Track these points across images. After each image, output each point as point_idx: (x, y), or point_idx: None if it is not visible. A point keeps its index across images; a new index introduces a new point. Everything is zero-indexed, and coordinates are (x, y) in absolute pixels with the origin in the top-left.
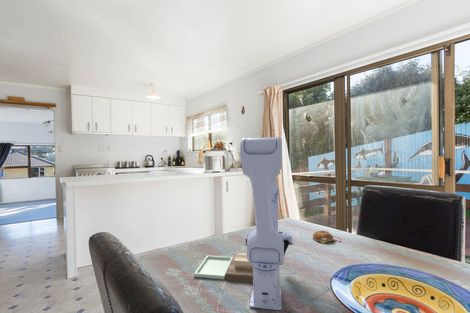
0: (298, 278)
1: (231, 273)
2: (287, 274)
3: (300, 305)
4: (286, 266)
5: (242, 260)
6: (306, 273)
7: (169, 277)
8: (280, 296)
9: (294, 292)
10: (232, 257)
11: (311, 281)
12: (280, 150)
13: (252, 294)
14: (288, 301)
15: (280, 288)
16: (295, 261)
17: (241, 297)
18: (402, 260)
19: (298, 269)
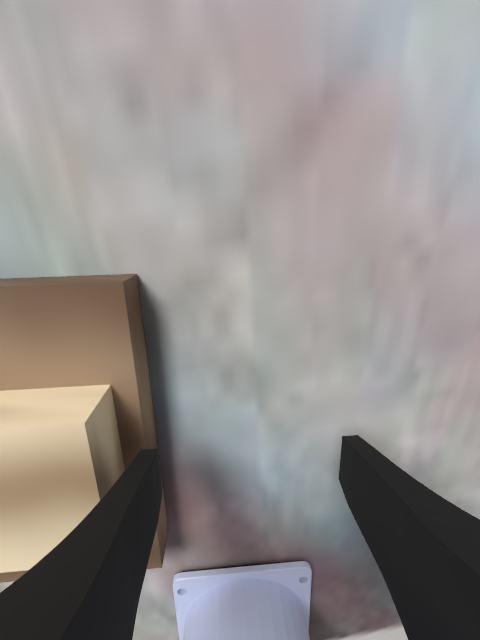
0: (412, 444)
1: (5, 577)
2: (355, 415)
3: (377, 619)
4: (361, 309)
5: (16, 565)
6: (475, 380)
7: None
8: (306, 617)
9: (368, 557)
10: None
11: (475, 457)
12: None
13: (182, 632)
14: (334, 610)
15: (308, 570)
16: (446, 203)
17: (136, 633)
18: None
19: (438, 337)
